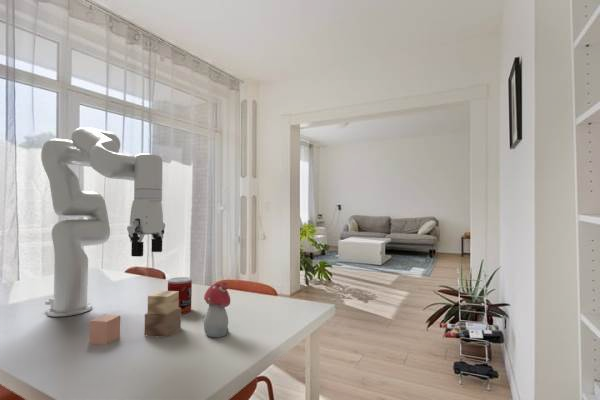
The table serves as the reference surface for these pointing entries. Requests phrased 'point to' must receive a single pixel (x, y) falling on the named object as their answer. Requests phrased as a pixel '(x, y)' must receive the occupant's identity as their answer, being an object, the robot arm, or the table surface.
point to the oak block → (163, 302)
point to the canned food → (182, 292)
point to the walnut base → (162, 324)
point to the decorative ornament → (217, 310)
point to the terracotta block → (104, 329)
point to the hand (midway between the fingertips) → (147, 253)
